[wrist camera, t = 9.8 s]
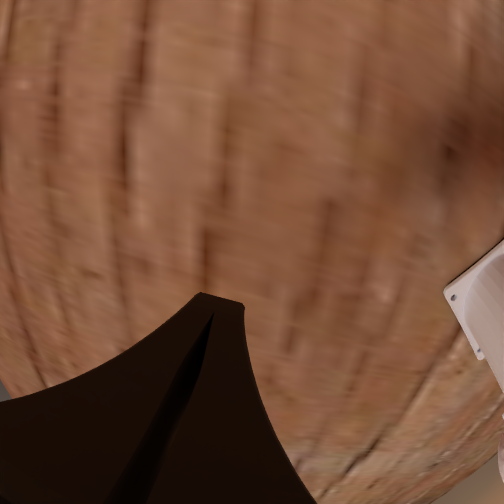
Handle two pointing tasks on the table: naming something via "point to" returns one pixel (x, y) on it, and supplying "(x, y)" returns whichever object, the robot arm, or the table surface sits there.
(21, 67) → the table surface
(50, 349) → the table surface
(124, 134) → the table surface
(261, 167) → the table surface
